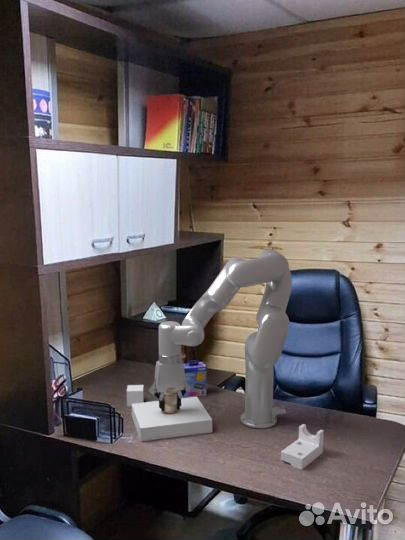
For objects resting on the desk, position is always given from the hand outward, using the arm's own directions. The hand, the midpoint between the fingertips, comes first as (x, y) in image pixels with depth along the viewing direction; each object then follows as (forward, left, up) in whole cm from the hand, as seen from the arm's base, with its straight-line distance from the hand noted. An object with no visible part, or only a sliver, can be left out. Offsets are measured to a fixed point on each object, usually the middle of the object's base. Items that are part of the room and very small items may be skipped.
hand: (170, 408), depth 187 cm
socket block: (0, 0, -5) cm, 5 cm away
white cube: (+9, -21, -6) cm, 24 cm away
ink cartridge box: (-14, -23, -6) cm, 28 cm away
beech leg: (0, 0, -5) cm, 5 cm away
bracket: (-34, +33, -6) cm, 48 cm away
